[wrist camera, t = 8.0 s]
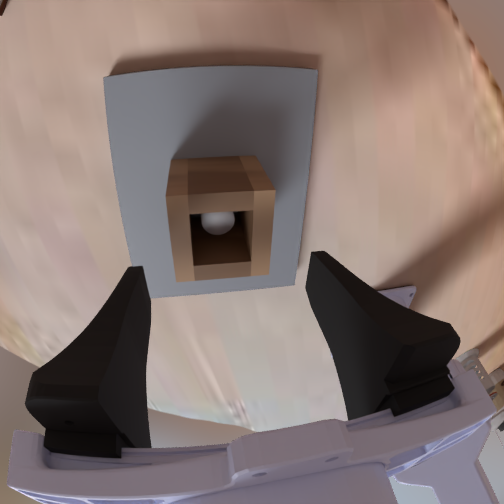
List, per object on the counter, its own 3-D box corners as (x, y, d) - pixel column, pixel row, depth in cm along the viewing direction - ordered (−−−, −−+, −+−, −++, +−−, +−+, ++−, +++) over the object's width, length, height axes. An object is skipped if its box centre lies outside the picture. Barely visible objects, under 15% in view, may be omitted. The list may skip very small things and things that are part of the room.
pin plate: (290, 275, 26) (305, 312, 23) (141, 288, 25) (137, 328, 21) (310, 68, 17) (339, 75, 14) (108, 75, 15) (87, 83, 12)
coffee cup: (512, 357, 59) (539, 399, 47) (491, 382, 65) (514, 422, 53) (488, 370, 57) (516, 417, 45) (466, 395, 63) (489, 439, 51)
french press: (484, 351, 48) (541, 449, 28) (442, 388, 53) (489, 485, 33) (470, 344, 44) (535, 459, 24) (422, 386, 49) (475, 498, 29)
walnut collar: (252, 227, 22) (268, 274, 18) (177, 232, 21) (176, 282, 17) (255, 155, 19) (275, 190, 15) (170, 159, 18) (165, 196, 14)
